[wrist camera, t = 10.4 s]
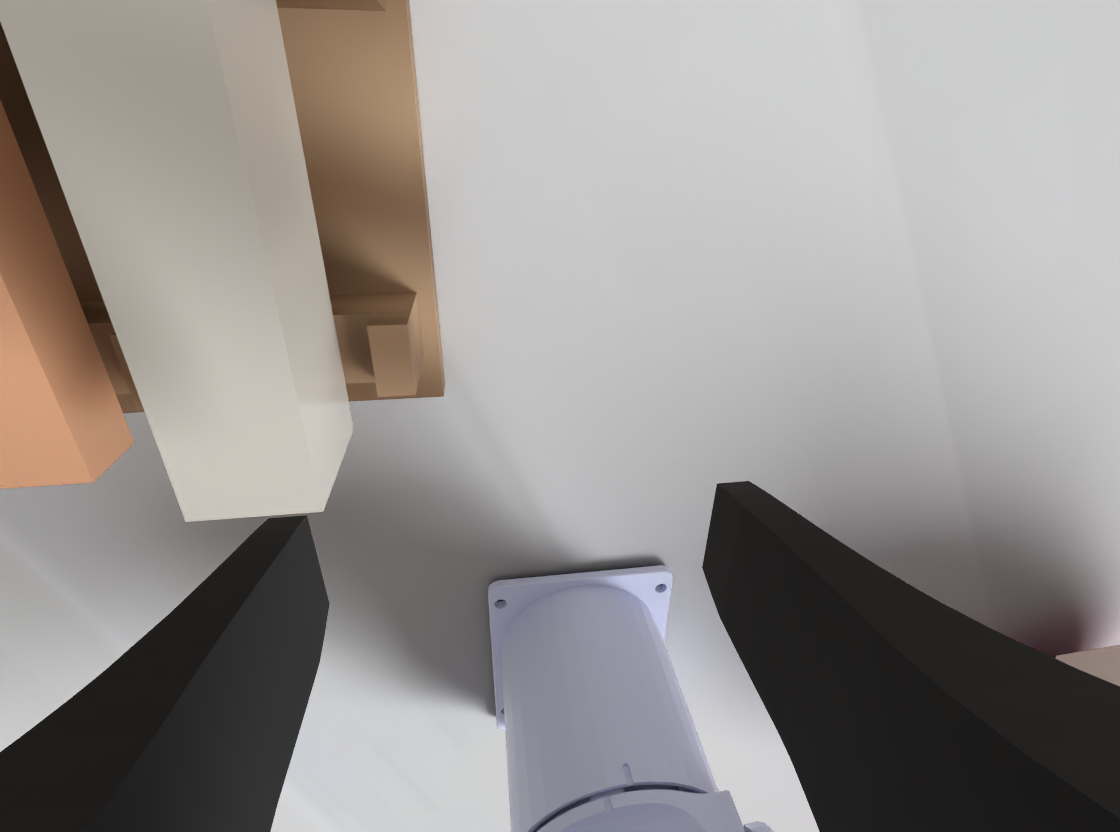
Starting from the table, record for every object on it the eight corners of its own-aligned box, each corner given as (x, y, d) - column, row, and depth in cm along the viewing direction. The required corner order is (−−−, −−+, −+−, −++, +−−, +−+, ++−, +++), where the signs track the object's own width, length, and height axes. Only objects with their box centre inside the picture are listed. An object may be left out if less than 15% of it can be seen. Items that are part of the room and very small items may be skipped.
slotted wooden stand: (444, 383, 20) (439, 441, 16) (-6, 406, 18) (-120, 476, 15) (393, -164, 13) (366, -264, 10) (-318, -213, 12) (-662, -357, 8)
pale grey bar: (353, 429, 17) (323, 511, 13) (246, 435, 16) (185, 522, 13) (231, -247, 10) (108, -432, 7) (48, -262, 10) (-181, -466, 6)
